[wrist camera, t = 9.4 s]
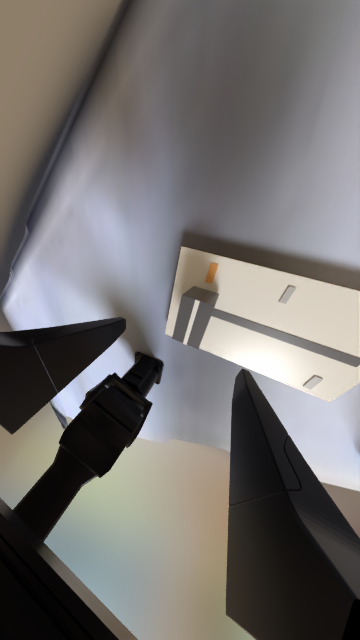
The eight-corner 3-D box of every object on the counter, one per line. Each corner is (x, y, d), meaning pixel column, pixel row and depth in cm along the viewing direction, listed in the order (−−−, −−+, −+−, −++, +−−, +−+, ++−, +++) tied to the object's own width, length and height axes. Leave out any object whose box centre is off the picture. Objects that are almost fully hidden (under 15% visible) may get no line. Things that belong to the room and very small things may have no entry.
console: (320, 388, 17) (330, 403, 15) (170, 327, 22) (164, 334, 20) (425, 307, 11) (462, 317, 9) (187, 247, 16) (180, 246, 14)
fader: (205, 330, 17) (198, 349, 13) (184, 322, 17) (171, 338, 14) (219, 293, 14) (214, 306, 11) (193, 285, 15) (181, 295, 12)
